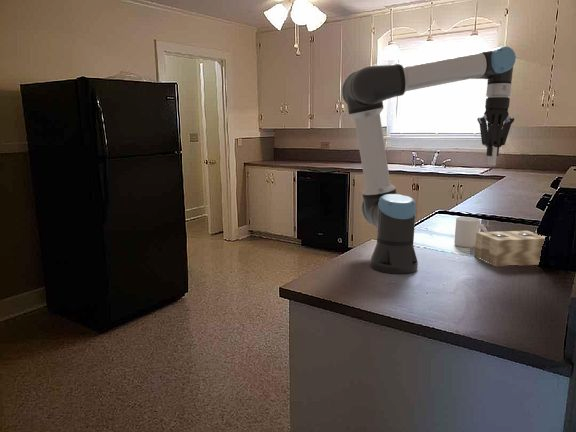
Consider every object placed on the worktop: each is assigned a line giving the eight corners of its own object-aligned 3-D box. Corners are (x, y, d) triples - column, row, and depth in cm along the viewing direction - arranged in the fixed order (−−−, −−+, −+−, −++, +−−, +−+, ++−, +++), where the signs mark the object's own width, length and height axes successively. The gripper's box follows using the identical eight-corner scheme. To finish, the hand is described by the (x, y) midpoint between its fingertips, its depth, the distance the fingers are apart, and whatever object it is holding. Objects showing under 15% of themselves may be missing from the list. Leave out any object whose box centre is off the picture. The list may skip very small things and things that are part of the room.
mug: (483, 250, 164) (485, 223, 162) (451, 245, 172) (453, 219, 170) (489, 246, 171) (492, 219, 169) (458, 241, 178) (460, 215, 176)
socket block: (494, 266, 145) (497, 240, 143) (474, 256, 157) (476, 232, 155) (548, 264, 148) (551, 238, 146) (524, 254, 160) (527, 230, 158)
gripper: (487, 96, 146) (480, 166, 151) (522, 96, 148) (514, 166, 153) (474, 97, 153) (468, 164, 158) (507, 98, 156) (501, 164, 160)
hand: (491, 165), depth 155 cm, fingers closed
